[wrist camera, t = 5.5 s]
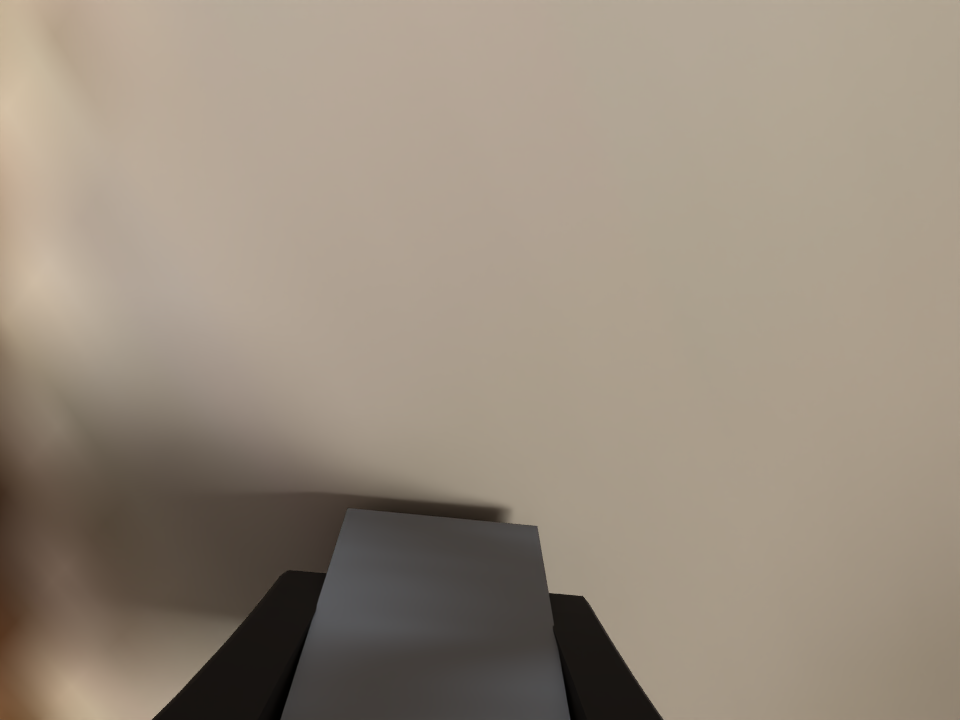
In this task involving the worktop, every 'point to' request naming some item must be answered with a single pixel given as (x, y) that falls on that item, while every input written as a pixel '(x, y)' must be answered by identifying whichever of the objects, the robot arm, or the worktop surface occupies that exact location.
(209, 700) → the robot arm
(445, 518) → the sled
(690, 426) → the worktop surface
